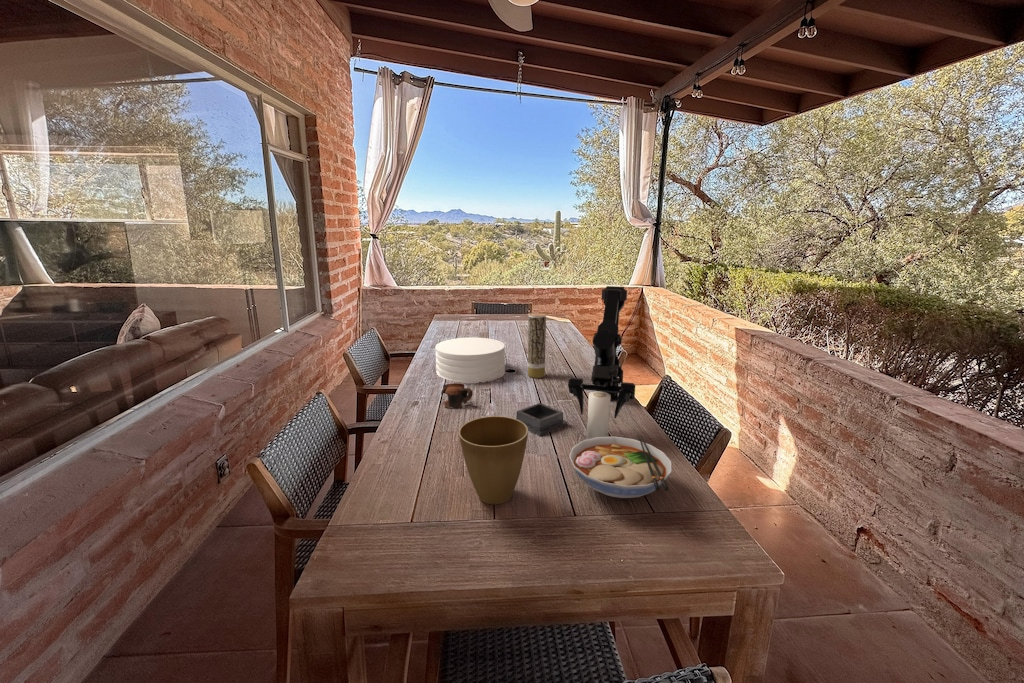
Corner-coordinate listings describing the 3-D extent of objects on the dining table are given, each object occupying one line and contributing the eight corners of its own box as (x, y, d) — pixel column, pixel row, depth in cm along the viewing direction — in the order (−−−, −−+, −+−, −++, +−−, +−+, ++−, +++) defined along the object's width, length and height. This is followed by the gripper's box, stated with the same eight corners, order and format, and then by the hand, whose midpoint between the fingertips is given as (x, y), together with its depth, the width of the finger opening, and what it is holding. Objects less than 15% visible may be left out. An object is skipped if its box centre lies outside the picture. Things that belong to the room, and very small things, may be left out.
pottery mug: (435, 409, 151) (435, 384, 154) (450, 411, 160) (449, 388, 162) (467, 404, 147) (466, 379, 149) (480, 408, 155) (479, 384, 158)
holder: (539, 412, 147) (539, 401, 146) (567, 424, 138) (568, 412, 137) (511, 423, 139) (511, 411, 138) (539, 436, 131) (540, 423, 130)
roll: (601, 432, 134) (603, 389, 130) (612, 441, 128) (614, 397, 125) (583, 435, 132) (584, 392, 128) (593, 444, 126) (595, 399, 123)
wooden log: (543, 379, 179) (544, 316, 173) (526, 378, 181) (527, 316, 175) (545, 373, 186) (547, 313, 180) (529, 372, 187) (530, 312, 181)
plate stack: (428, 367, 195) (427, 341, 192) (489, 359, 206) (489, 335, 203) (448, 387, 170) (447, 358, 167) (516, 377, 182) (516, 350, 179)
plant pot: (491, 471, 112) (490, 410, 108) (540, 492, 103) (541, 427, 99) (446, 498, 101) (444, 431, 97) (497, 525, 92) (496, 453, 88)
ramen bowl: (567, 458, 119) (568, 429, 117) (658, 463, 116) (660, 433, 114) (568, 517, 94) (569, 482, 92) (682, 525, 92) (686, 489, 90)
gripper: (570, 350, 131) (562, 400, 123) (637, 355, 126) (633, 408, 118) (573, 369, 140) (566, 416, 132) (636, 374, 135) (632, 424, 127)
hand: (598, 415), depth 127 cm, fingers open, 9 cm apart
